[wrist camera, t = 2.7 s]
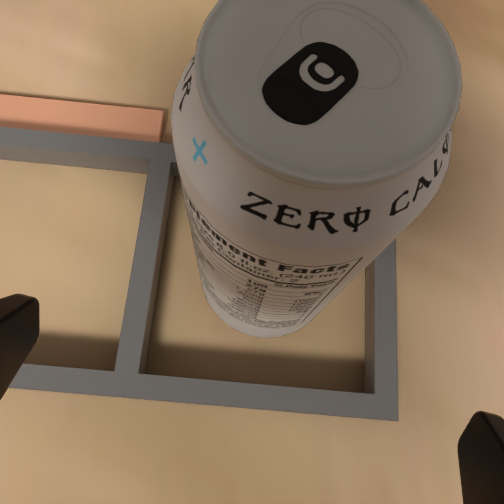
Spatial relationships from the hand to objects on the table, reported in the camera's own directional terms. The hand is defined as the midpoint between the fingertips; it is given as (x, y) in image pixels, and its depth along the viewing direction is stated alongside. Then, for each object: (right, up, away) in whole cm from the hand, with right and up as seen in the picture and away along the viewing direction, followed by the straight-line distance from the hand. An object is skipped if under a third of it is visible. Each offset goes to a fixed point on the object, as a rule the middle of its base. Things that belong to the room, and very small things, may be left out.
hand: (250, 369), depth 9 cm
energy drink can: (+1, +1, +13) cm, 13 cm away
